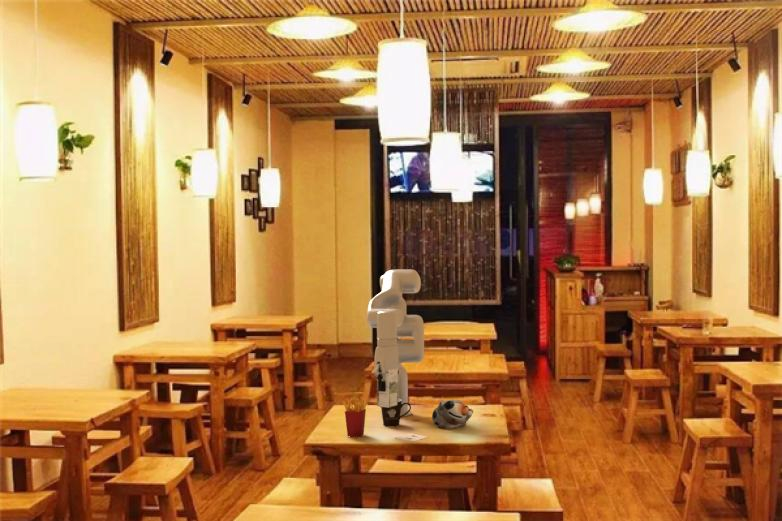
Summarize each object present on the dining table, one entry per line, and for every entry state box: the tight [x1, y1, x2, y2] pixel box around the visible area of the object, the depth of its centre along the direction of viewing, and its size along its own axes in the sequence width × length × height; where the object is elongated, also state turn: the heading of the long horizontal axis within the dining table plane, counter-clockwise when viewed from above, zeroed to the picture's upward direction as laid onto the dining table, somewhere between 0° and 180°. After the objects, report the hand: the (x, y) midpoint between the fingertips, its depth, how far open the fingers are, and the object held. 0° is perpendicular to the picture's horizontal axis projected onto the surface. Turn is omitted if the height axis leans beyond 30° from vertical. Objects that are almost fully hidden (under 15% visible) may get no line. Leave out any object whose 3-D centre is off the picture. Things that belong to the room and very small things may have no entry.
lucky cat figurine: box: [431, 399, 474, 430], centre depth 356 cm, size 15×12×14 cm
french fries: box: [342, 395, 367, 438], centre depth 343 cm, size 9×8×15 cm
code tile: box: [395, 433, 428, 442], centre depth 339 cm, size 9×9×1 cm
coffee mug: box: [380, 399, 412, 427], centre depth 360 cm, size 12×9×10 cm
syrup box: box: [376, 369, 398, 408], centre depth 343 cm, size 6×6×14 cm
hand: (387, 389), depth 343 cm, fingers closed on syrup box, 5 cm apart
